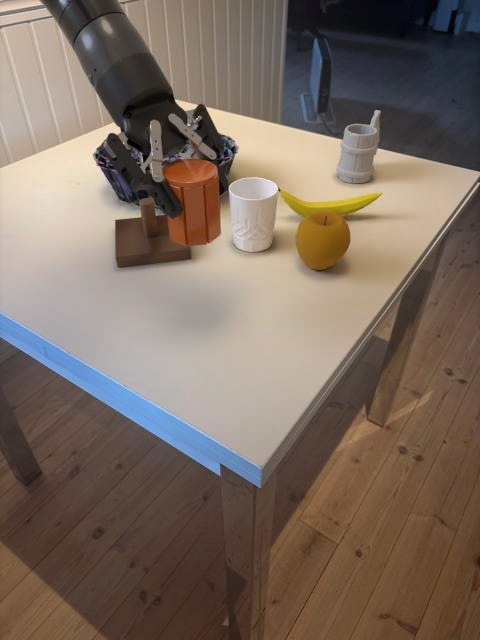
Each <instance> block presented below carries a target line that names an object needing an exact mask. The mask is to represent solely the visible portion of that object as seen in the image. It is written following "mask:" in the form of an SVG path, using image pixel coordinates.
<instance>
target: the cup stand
mask: <svg viewBox="0 0 480 640" xmlns="http://www.w3.org/2000/svg"><path fill="white" fill-rule="evenodd" d="M138 206H139V211H140V216H138V217H130V218H120V219H114V238H115V239H114V240H115V242H114V245H115V246H114V249H115V250H114V251H115V254H114V255H115V262H116V266H117V268H124V267H132V266H140V265H150V264H158V263H166V262H167V263H168V262H176V261H185V260H192V249H191V246H188V245H187V246H184V245H182V244H179V243H176V242H174V241H172V240H171V239H170V236H169V229H168V221H167V216H166V215H165V214H159V215H157V213H156V207H155V205H154V200H153V199H151V198H144V199H141V200H140V201H139V204H138Z"/></svg>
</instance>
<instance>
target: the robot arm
mask: <svg viewBox="0 0 480 640" xmlns="http://www.w3.org/2000/svg"><path fill="white" fill-rule="evenodd" d="M38 1H39V2H40V4H42V5H43V7H44V8H45V9H46V10H47V11H48V13H49V14H50V15H51V17H52V18H53V19H54V21H55V22H56V24H57V25H58V27H59V29H60V31H61V32H62V34H63V35H64V37H65V38H66V40H67V42H68V44H69V45H70V47H71V48H72V51H74V54H75V56H76V57H77V59H78V61H79V62H78V63H79V64H80V67H81V69H82V71H83V73H84V74H85V76H86V78H87V79H88V82H89V84H90V85H91V87H92V88H93V89H94V90H95V93H96V95H97V96H98V98H99V99H100V101H101V103H102V104H103V106H104V107H105V109H106V111H107V112H108V114H109V116H110V118H111V119H112V122H113V123H114V124H115V125H116V126H117V127H118V128H119V129H120V132H119V133H117V134H116V133H115V132H110V133H108V135H107V136H106V138H105V139H106V140H105V139H104V140H105V142H104V144H103V146H102V151H103V153H104V154H105V155H106V157H107V158H108V160H109V161H110V162H111V164H112V165H113V167H114V168H115V169H116V171H117V172H118V173H119V175H120V176H121V178H122V179H123V180H124V182H125V183H126V185H127V186H128V187H129V189H130V190H131V191H133V192H137V191H138V190H148V191H149V192H151V194H152V195H153V197H154V198H155V200H156V202H157V203H158V205H159V207H160V208H159V209H160V210H161V212H162V213H163V215H166V216H168V215H169V217H170V218H171V219H174V218H176V217H178V216H179V215H180V214H181V213H182V212H183V208H182V206H181V204H180V202H179V201H178V199H177V197H176V196H175V194H174V192H173V191H172V189H171V187H170V186H169V184H168V182H167V181H164V182H163V181H162V180H163V173H162V160H163V159H164V158H166V157H167V156H174V155H176V154H179V155H181V156H182V157H183V158H185V159H202V160H207V161H209V162H212V163H213V164H215V165H216V167H217V170H218V176H219V196H220V197H222V196H224V195H225V194H226V193H228V192H229V186H230V183H229V180H228V178H226V176H225V174H224V173H223V171H222V169H221V168H220V166H219V164H218V162H217V156H218V155H219V154H220V153H221V152H222V151H223V150H224V148H225V146H224V143H223V141H222V139H221V137H220V135H219V133H220V132H219V131H218V129H217V127H216V125H215V123H214V120H213V119H212V117H211V115H210V112H209V111H208V109H207V106H206V105H204V104H203V103H199V104H197V106H196V107H195V108H194V109H188V110H184V108H182V107H181V106H180V105H179V104H178V102H177V101H176V98H175V94H174V90H173V87H172V85H171V84H170V82H169V80H168V78H167V77H166V76H165V73H164V72H163V70H162V68H161V67H160V65H159V63H158V62H157V60H156V58H155V57H154V55H153V53H152V52H151V50H150V48H149V47H148V45H147V43H146V41H145V40H144V38H143V36H142V35H141V33H140V32H139V30H138V29H137V28H136V27H135V25H134V24H133V23H132V21H131V19H130V18H129V17H128V15H127V13H126V12H125V10H124V8H123V6H122V5H121V3H120V1H119V0H38ZM188 126H191V127H190V128H189V127H188ZM193 130H194V131H195V132H194V131H193ZM187 141H189V142H190V145H189V146H185V145H186V143H187ZM128 145H129V146H130V147H132V148H134V149H135V150H137V151H139V152H140V156H141V167H142V169H141V168H140V166H139V165H138V164H137V162H136V161H135V159H134V158H133V157H132V155H131V154H130V152H129V151H128V150H129V147H128ZM199 153H200V154H199Z"/></svg>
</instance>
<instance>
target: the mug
mask: <svg viewBox="0 0 480 640" xmlns="http://www.w3.org/2000/svg"><path fill="white" fill-rule="evenodd" d="M381 113H382V111H381V110H378V109H375V110H374V112H373V116H372V117H371V120H370V124H364V123H363V124H362V123H352V124H349V125H347V126H346V127H345V128H344V132H343V139H342V140H341V141H340V146H339V147H340V154H339V160H338V163H337V164H336V166H335V167H336V169H335V170H336V172H337V173H336V176H337V178H338V179H339V180H341V181H342V182H345V183H348V184H364V183H367V182H369V181H370V180H371V178H372V175H373V174H374V172H375V166H374V158H375V156H376V155H377V151H378V148H379V146H378V145H379V144H380V140H381V137H380V133H381V129H380V126H381V124H380V118H381V117H380V116H381Z"/></svg>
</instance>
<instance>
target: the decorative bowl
mask: <svg viewBox="0 0 480 640" xmlns="http://www.w3.org/2000/svg"><path fill="white" fill-rule="evenodd" d="M187 126H188V127H189V128H190V127H191V126H190V125H187ZM193 131H194V130H193ZM194 132H195V131H194ZM218 133H219V135H220V137H221V139H222V141H223V143H224V146H225V148H224V150H223V151H222V152H221V153H220V154H219V155H218V156H217V162H218V164H219V166H220V168H221V169H222V171H223V173H224V174H225V176H226V178H227V179H229V176H230V172H231V169H232V166H233V163H234V160H235V156H236V155H237V154H238V153H239V149H240V146H239V145H237V143H236V141H235V140H234V139H233V138H232V137H231V136H229V135H226V134H223V133H220V132H218ZM105 140H106V138H105V139H104V140H103V141H102V143H101V145H99V146H98V147H97V148H96V149H95V151H94V152H93V153H92V158H93V161H95V165H96V166H97V167H99V168H100V170H101V172H102V173H103V175H104V177H105V179H106V180H107V182H108V183H109V184H110V186H111V188H112V190H113V192H114V193H115V195H116V196H117V198H118V199H119V201H124V202H130V203H132V204H134V205H139V201H140V200H141V199H144V198H151V199H153V200H154V205H155V209H161V208H160V207H159V205H158V203H157V202H156V200H155V198H154V197H153V195H152V194H151V192H149V191H148V190H138V191H137V192H133V191H131V190H130V189H129V187H128V186H127V185H126V183H125V182H124V180H123V179H122V178H121V176H120V175H119V173H118V172H117V171H116V169H115V168H114V167H113V165H112V164H111V162H110V161H109V160H108V158H107V157H106V155H105V154H104V153H103V151H102V146H103V144H104V142H105ZM189 145H190V142H189V141H187V143H186V145H185V146H189ZM128 147H129V150H128V151H129V152H130V154H131V155H132V157H133V158H134V159H135V161H136V162H137V164H138V165H139V166H140V168H141V169H142V167H141V156H140V152H139V151H137V150H135V149H134V148H132V147H130V146H129V145H128ZM199 154H200V153H199ZM182 159H185V158H183V157H182V156H181V155H179V154H176V155H174V156H167V157H166V158H164V159H163V160H162V169H163V168H164V167H165V166H166V165H167V164H169V163H171V162H174V161H177V160H182ZM162 181H163V180H162Z"/></svg>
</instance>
